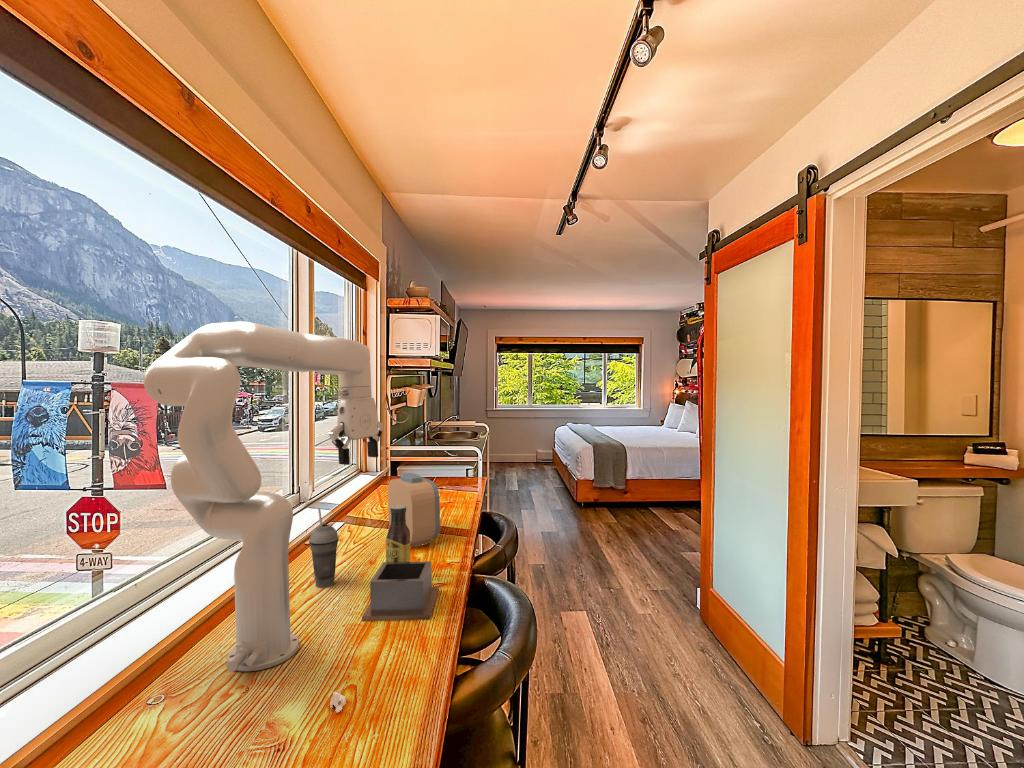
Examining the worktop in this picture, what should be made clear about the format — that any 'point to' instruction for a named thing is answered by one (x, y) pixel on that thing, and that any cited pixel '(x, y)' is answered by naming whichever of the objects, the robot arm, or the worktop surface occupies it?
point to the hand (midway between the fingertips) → (359, 460)
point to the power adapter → (337, 701)
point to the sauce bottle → (398, 536)
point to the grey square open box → (401, 592)
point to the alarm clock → (416, 506)
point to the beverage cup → (324, 553)
